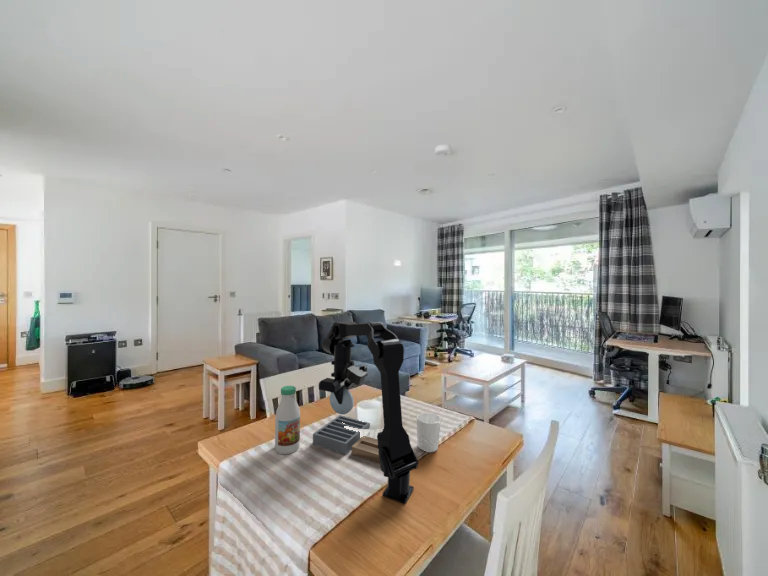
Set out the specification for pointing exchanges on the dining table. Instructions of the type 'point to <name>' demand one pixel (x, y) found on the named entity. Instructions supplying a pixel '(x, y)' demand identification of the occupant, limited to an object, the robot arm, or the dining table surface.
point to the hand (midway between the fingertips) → (341, 403)
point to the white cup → (428, 431)
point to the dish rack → (339, 434)
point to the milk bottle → (287, 422)
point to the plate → (346, 402)
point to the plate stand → (366, 449)
